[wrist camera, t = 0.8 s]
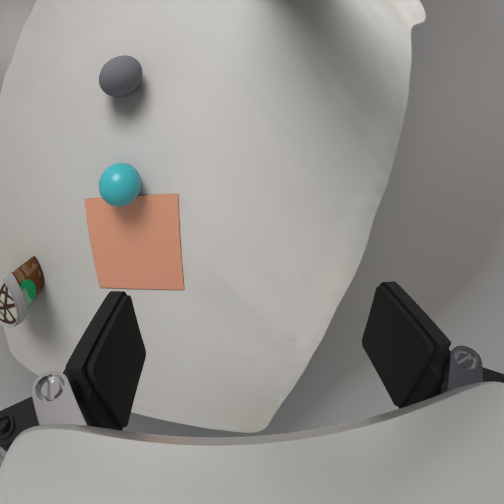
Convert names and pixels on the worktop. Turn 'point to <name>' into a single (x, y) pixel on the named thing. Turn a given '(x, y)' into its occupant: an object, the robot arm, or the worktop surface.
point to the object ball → (119, 184)
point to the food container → (20, 292)
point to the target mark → (136, 242)
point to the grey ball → (120, 76)
